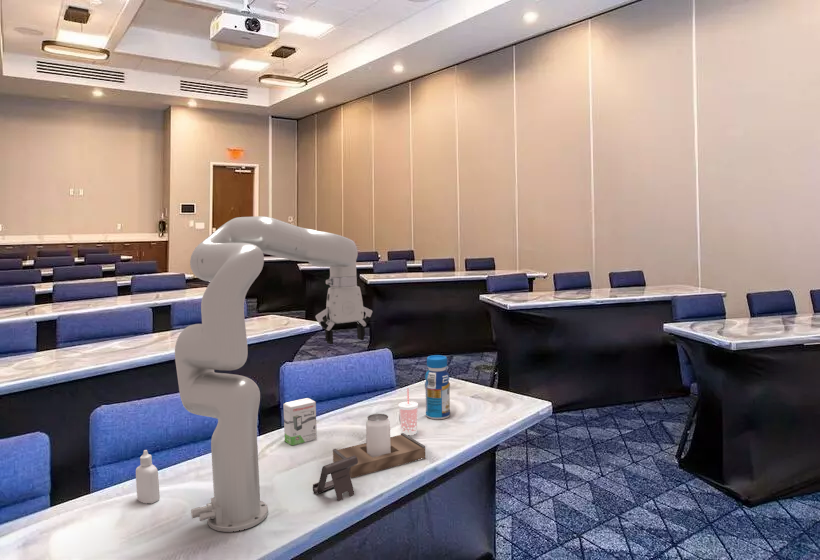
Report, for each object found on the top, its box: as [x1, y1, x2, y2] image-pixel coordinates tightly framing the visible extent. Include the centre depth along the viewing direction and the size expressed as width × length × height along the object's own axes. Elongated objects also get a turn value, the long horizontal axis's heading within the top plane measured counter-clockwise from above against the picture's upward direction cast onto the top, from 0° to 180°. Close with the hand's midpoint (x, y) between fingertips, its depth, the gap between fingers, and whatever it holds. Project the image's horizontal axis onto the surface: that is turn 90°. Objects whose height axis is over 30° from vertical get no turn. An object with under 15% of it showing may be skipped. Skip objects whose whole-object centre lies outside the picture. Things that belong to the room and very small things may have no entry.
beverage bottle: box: [424, 354, 451, 420], centre depth 183 cm, size 8×8×20 cm
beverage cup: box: [397, 387, 419, 436], centre depth 168 cm, size 6×6×14 cm
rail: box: [332, 433, 426, 479], centre depth 149 cm, size 22×12×3 cm, turn 120°
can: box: [365, 413, 391, 457], centre depth 148 cm, size 6×6×12 cm
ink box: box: [283, 397, 318, 446], centre depth 164 cm, size 9×5×12 cm, turn 127°
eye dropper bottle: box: [135, 449, 161, 504], centre depth 128 cm, size 4×6×12 cm
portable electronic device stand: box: [312, 455, 358, 502], centre depth 130 cm, size 9×8×8 cm
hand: (345, 341), depth 159 cm, fingers open, 9 cm apart
